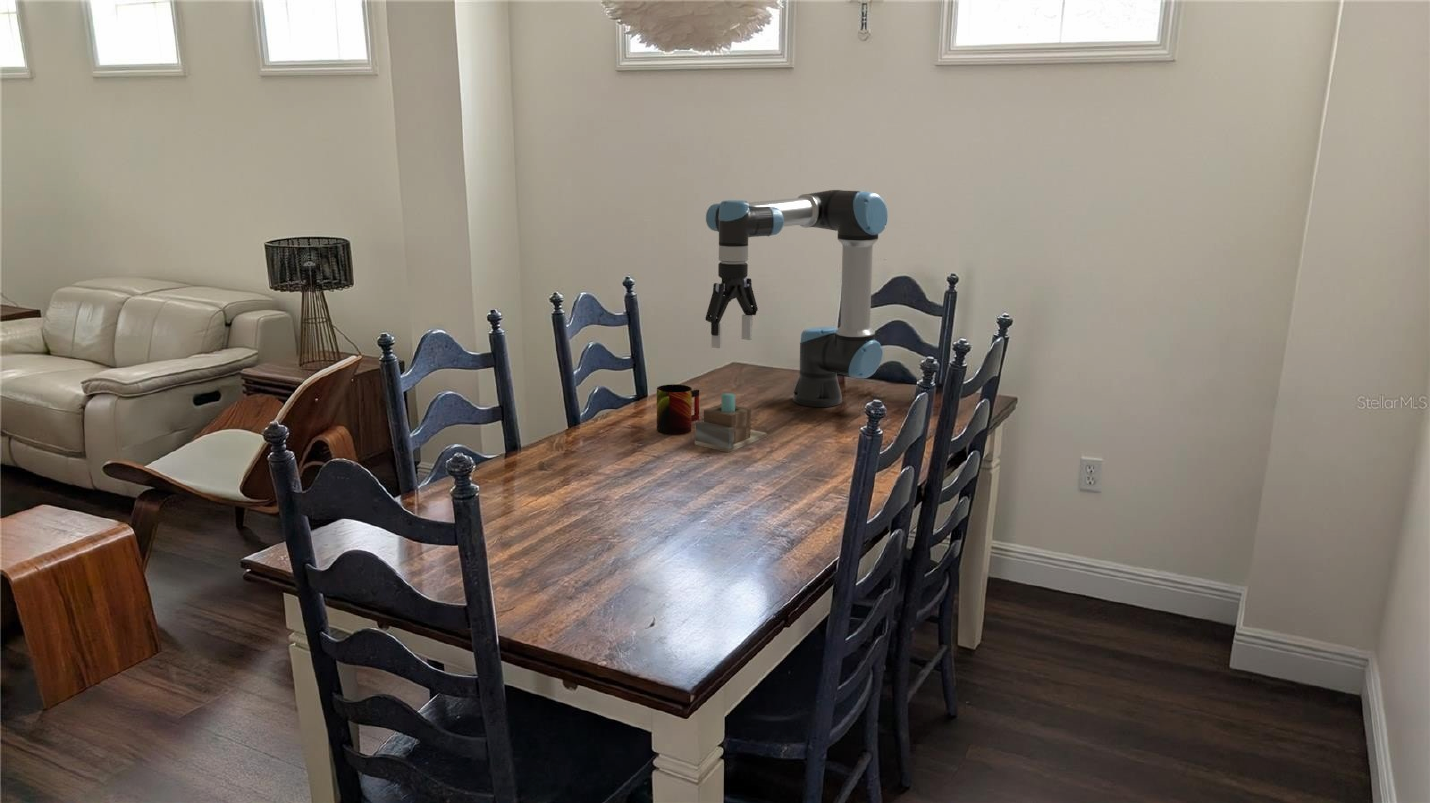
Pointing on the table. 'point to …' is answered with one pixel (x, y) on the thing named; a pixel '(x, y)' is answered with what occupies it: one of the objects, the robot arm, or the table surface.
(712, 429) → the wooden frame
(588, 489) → the table surface
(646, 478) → the table surface
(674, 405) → the mug
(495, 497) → the table surface
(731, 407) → the dowel
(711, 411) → the block
